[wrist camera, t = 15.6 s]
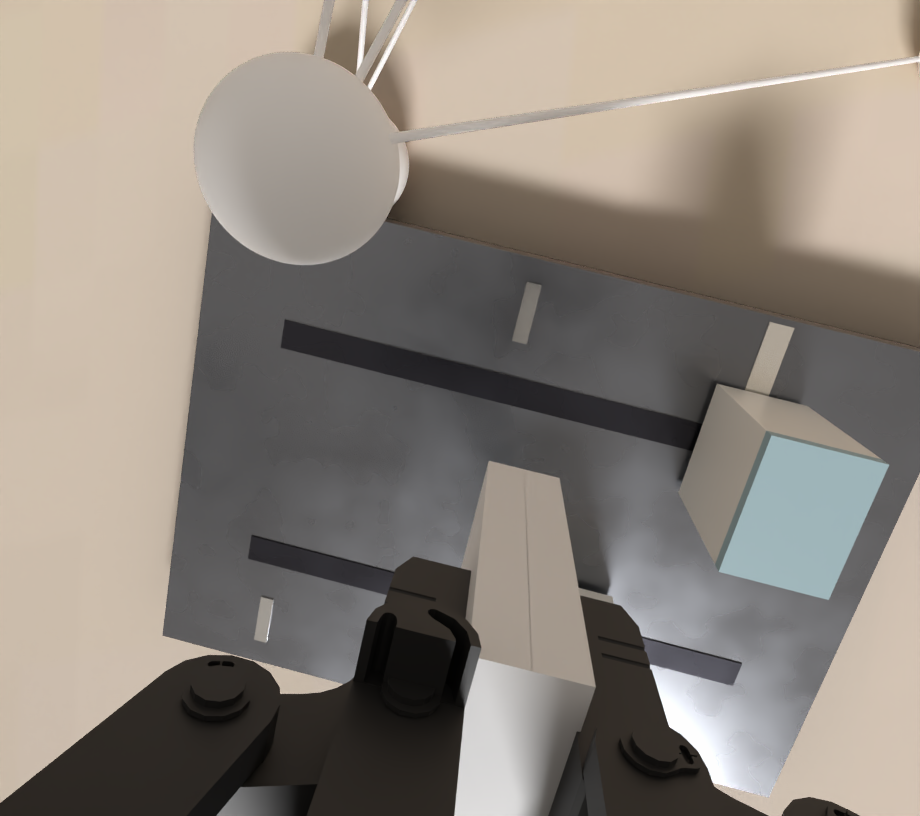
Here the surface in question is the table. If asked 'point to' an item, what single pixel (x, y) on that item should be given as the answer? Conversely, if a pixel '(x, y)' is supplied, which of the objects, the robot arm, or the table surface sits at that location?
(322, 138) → the molecule model
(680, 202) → the table surface
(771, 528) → the block
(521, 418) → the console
